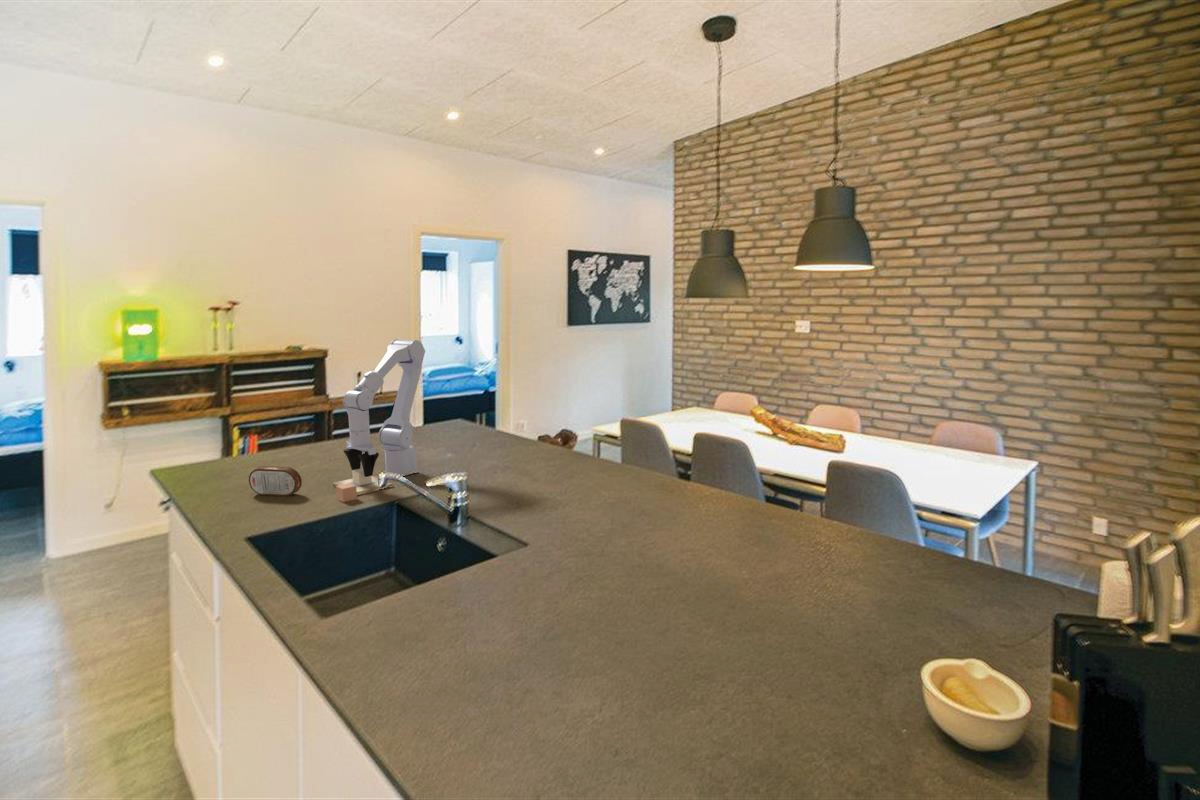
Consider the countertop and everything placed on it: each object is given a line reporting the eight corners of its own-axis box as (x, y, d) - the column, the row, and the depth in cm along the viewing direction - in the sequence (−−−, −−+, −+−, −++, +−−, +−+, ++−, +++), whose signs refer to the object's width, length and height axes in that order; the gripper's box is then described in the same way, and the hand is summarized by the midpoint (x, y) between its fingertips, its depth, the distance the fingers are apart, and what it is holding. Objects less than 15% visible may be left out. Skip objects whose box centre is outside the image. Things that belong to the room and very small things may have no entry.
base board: (369, 477, 197) (369, 474, 197) (392, 486, 188) (392, 483, 188) (332, 486, 188) (332, 482, 188) (355, 495, 179) (355, 492, 179)
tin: (303, 494, 181) (301, 466, 179) (297, 497, 178) (295, 469, 176) (255, 492, 182) (252, 464, 181) (248, 495, 179) (245, 467, 178)
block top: (350, 496, 179) (349, 483, 178) (357, 499, 176) (356, 485, 176) (336, 499, 176) (335, 486, 175) (343, 502, 173) (342, 489, 173)
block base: (365, 480, 191) (364, 467, 190) (371, 482, 188) (371, 470, 187) (352, 483, 188) (352, 470, 187) (359, 485, 185) (358, 472, 184)
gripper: (335, 428, 187) (338, 471, 189) (358, 435, 178) (361, 481, 180) (357, 425, 192) (360, 467, 195) (381, 431, 183) (383, 476, 185)
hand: (362, 473), depth 188 cm, fingers open, 7 cm apart
